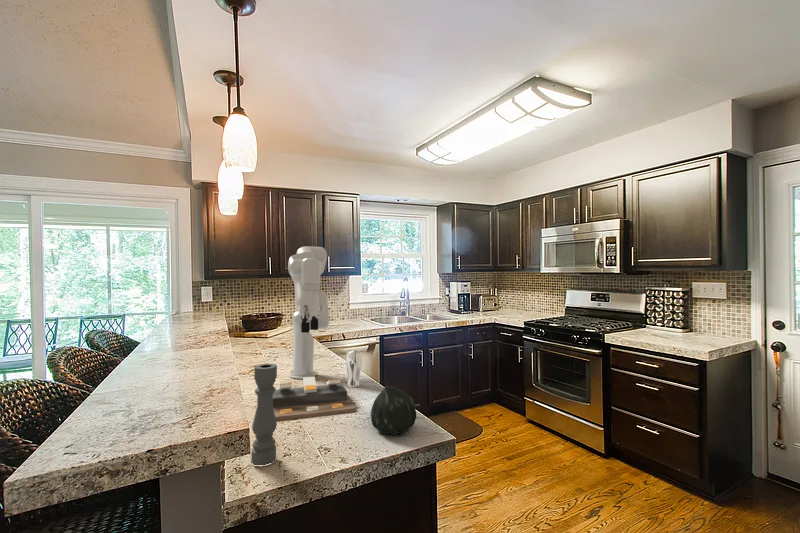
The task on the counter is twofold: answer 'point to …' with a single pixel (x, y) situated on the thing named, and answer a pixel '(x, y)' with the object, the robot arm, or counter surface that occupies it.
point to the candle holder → (264, 415)
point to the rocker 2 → (309, 384)
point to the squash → (393, 411)
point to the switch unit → (311, 402)
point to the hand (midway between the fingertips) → (309, 331)
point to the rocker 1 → (285, 386)
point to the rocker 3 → (333, 382)
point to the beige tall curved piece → (353, 367)
